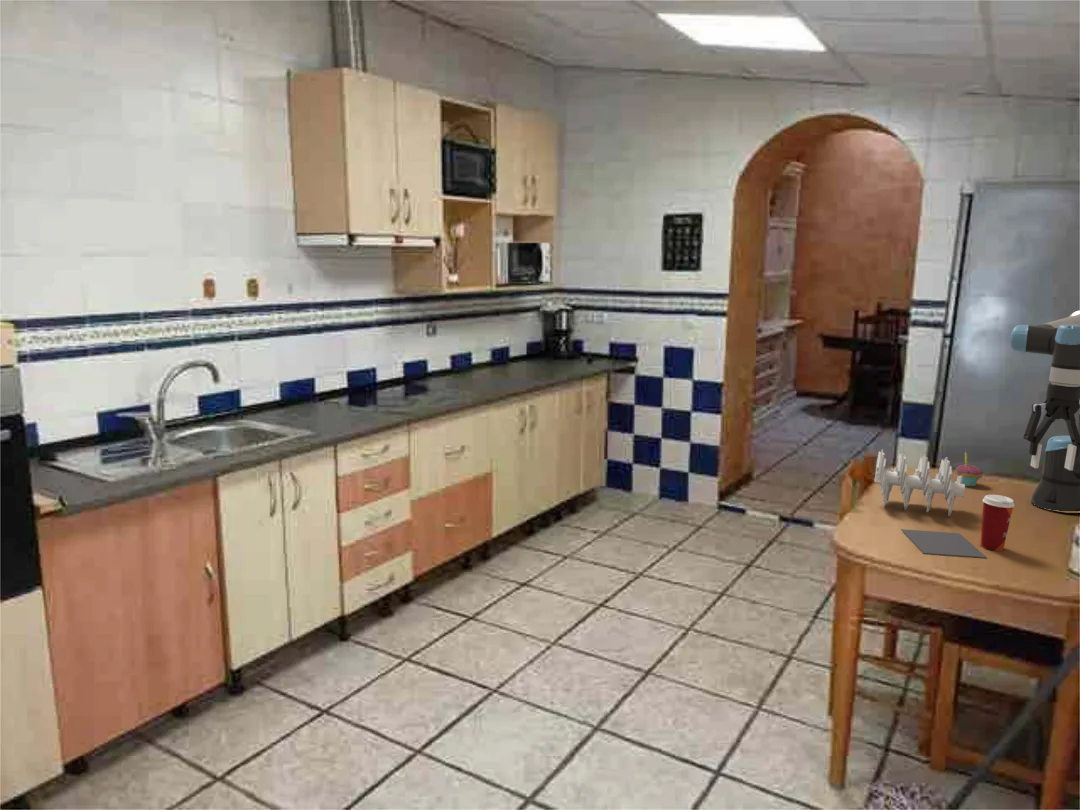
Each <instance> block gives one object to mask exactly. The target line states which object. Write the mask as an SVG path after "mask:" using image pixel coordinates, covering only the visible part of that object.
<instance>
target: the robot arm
mask: <svg viewBox="0 0 1080 810" xmlns="http://www.w3.org/2000/svg"><path fill="white" fill-rule="evenodd" d="M1009 340H1010V341H1009V343H1010V348H1011V349H1012V350H1014V351H1017V352H1022V353H1030V354H1041V355H1049V356H1052V357H1051V364H1050V365H1051V366H1050V372H1049V376H1048V381H1049V383H1048V384H1047V389H1046V394H1045V395H1046V398H1045V400H1044V402H1043V403H1039V404H1038V403H1035V402H1034V403H1032V404H1031V415H1030V417H1029V419H1028V423H1027V426H1026V428H1025V431H1024V435H1023V439H1024V440H1026V441H1028V442H1029V443H1030V445H1029V452H1028V453H1029V454H1030V455H1031V459H1030V467H1032V468H1034V469H1039V466H1040V459H1041V453H1042V447H1043V445H1042V444H1041V443H1040V442H1041V440H1042V439H1043V438H1044V436H1045V435H1046V433H1047V431H1048V430H1049V428H1050V427H1051V425H1053V423H1054V422H1055V421H1056V420H1064V421H1065V423H1066V424H1065V425H1066V427H1067V431H1068V434H1069V435H1055V436H1052V437H1050V438H1048V440H1047V444H1046V448H1045V449H1044V459H1043V464H1042V470H1041V478H1040V481H1039V483H1038V484H1037V486H1036V488H1035V489H1034V491H1033V493H1032V495H1031V500H1030V503H1031V502H1032V503H1033V504H1035V505H1036V506H1035V505H1034V506H1035V507H1037V506H1039V507H1042V508H1046V509H1051V510H1059V511H1080V310H1077V311H1074V312H1073V313H1071V314H1070V315H1069V316H1066V317H1063V318H1060V319H1056V320H1053V321H1049V322H1045V323H1042V324H1037V325H1031V324H1018V325H1016V326H1015V327H1014V328H1013V329H1012V331H1011V334H1010V339H1009ZM1044 409H1045V414H1044V415H1043V417H1042V413H1043V412H1044ZM1077 412H1078V426H1079V427H1077V423H1076V422H1077V421H1076V416H1075V414H1076V413H1077ZM1041 417H1042V418H1043V419H1042V420H1041ZM1040 420H1041V421H1040ZM1039 422H1040V423H1039ZM1038 424H1039V425H1038ZM1078 429H1079V430H1078ZM1032 503H1031V504H1032ZM1033 504H1032V505H1033ZM1039 507H1038V508H1039ZM1042 508H1041V509H1042Z"/></svg>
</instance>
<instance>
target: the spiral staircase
mask: <svg viewBox="0 0 1080 810" xmlns="http://www.w3.org/2000/svg"><path fill="white" fill-rule="evenodd" d="M885 455H886V454H885V452H884V449H883V448H881V451H878V454H877V459H876V465H875V467H876V468H875V475H874V482H875V483H879V485H878V486H879V487H880V488H879V490H881V496H882V502H883V503H882V504H883V506H882V507H886V505H887V504H888V502H889V499H890V494H891V493H892V490H893V486H897V487H899V490H900V494H902V501H903V508H904V509H903V510H904V511H906V510H907V509H908V508H909V506H908V505H909V504H910V500H911V496H912V494H913V491H914V489H915V490H920V491H923V492H922V495H923V496H924V498H925V499H926V513H928V512H929V510H930V509H931V506H932V502H933V499H934V496H935V493H936V494H941V495H942V494H943V495H944V499H945V501H946V503H947V504H948V505H947V506H948V511H947V516H949V517H951V514H952V512H953V508H954V504H955V503H954V502H955V500H956V497H959V498H964V495H965V490H966V489H965V488H966V486H965V484H962V480H963V476H962V475H961V476H958V475H957V476H956V477H957V478H956V481H954V482H953V476H952V471H953V470H952V469H953V468H952V465H951V461H950V460H948V459H949V458H948V456H945V458H944V459H941V461H940V465H939V468H938V473H936V474H935V478H931V471H930V461H929V458H928V457H927V456H926V455H927V454H926V453H923V455H922V457H919V461H918V465H917V468H915V471H914V474H913V475H912V474H907V470H908V469H907V468H908V462H906V460H907V458H906V455H905V452H902V453H899V455H898V460H897V466H896V467H894V468H893V471H889V470H887V469H886V464H887V463H886V462H887V458H886V457H885Z"/></svg>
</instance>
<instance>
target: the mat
mask: <svg viewBox="0 0 1080 810" xmlns="http://www.w3.org/2000/svg"><path fill="white" fill-rule="evenodd" d="M901 530H902V531H903V532H902V531H901ZM900 531H901V532H902V533H903V534H904V535H905V536H906V538H908V539H909V540H910V542H912V544H913V545H914V544H915V545H916V546H915V547H916V548H917V549H918V550H919V551H920V552H921V553H922V554H923V555H933V556H934V555H935V556H947V557H948V556H949V557H950V556H951V557H960V558H961V557H963V558H964V557H965V558H975V559H976V558H979V559H987V556H986V554H984V553H983V552H982V551H980V550H979V549H978V548H977V547H976V546H975V545H974V544H972V543H971V542H970V541H969V540H968V539H967V538H965V536H963V535H962V534H961V533H960V532H949V531H946V532H945V531H933V530H918V529H902V528H901V529H900Z"/></svg>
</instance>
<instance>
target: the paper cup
mask: <svg viewBox="0 0 1080 810" xmlns="http://www.w3.org/2000/svg"><path fill="white" fill-rule="evenodd" d="M982 503H983V504H982V505H983V506H982V515H981V529H980V539H979V540H980V541H979V543H980V544H979V546H980V547H981V548H982V549H985V550H989V551H992V552H993V551H994V552H1000V551H1002V552H1003V550H1004V548H1005V544H1006V540H1007V535H1008V531H1009V528H1010V527H1009V526H1010V522H1011V520H1012V519H1011V517H1012V514H1013V511H1014V507H1015V502H1014V499H1013V498H1011V497H1008V496H1005V495H1000V494H986V495H985V496H984V498H983V499H982Z"/></svg>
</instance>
